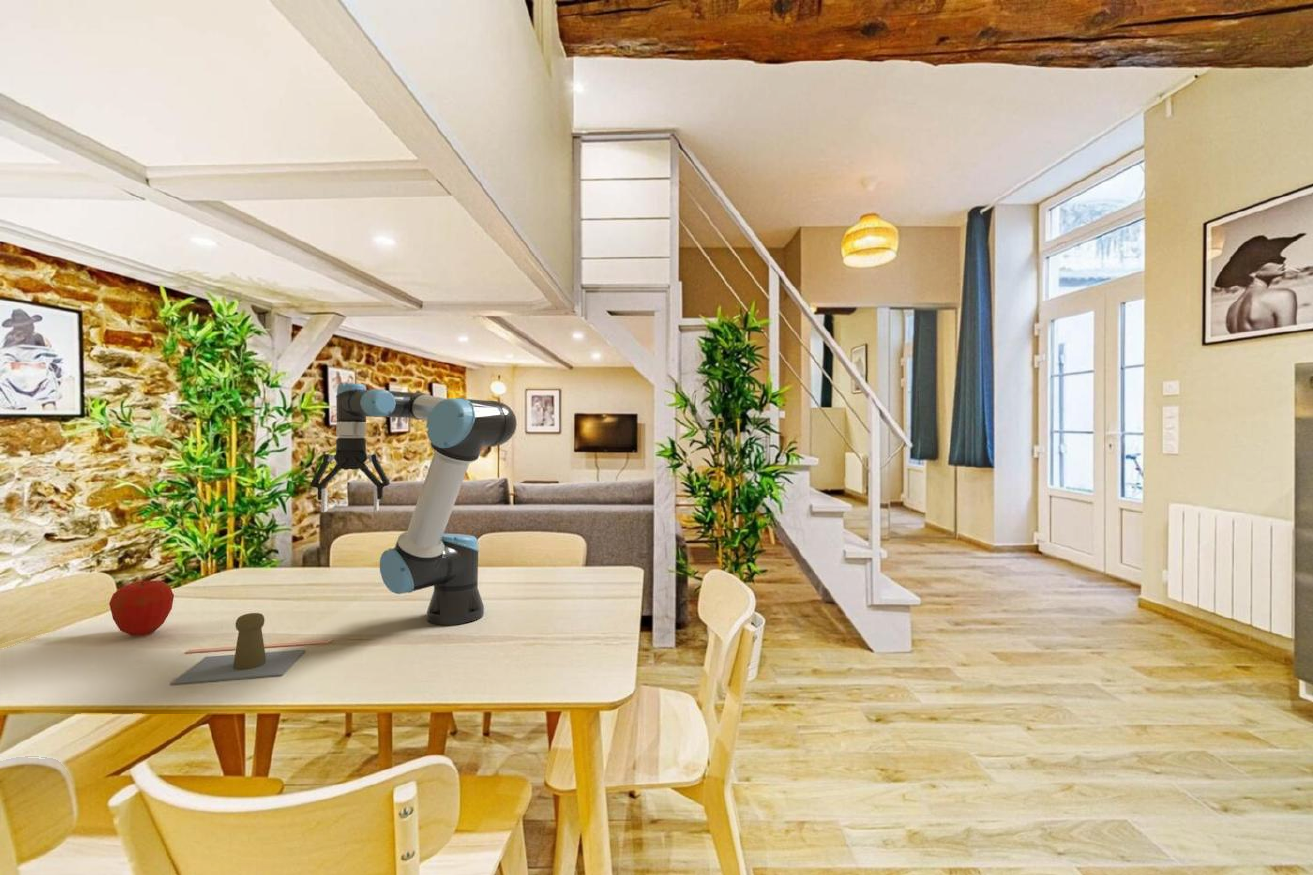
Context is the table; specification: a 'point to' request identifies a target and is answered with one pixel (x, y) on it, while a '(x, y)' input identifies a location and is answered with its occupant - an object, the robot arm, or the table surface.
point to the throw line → (264, 646)
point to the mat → (223, 670)
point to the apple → (141, 606)
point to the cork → (249, 642)
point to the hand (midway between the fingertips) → (350, 511)
